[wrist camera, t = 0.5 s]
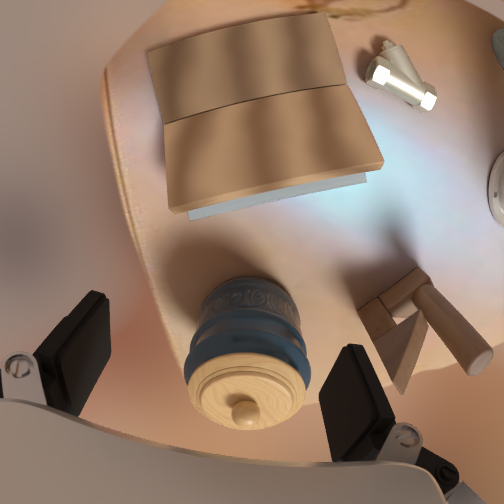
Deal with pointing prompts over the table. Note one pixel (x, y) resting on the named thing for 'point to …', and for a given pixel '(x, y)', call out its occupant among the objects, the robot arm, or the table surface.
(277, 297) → the canister
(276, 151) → the plank
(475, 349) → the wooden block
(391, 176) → the table surface
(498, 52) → the grey pot
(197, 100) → the floor board
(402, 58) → the pipe fitting
